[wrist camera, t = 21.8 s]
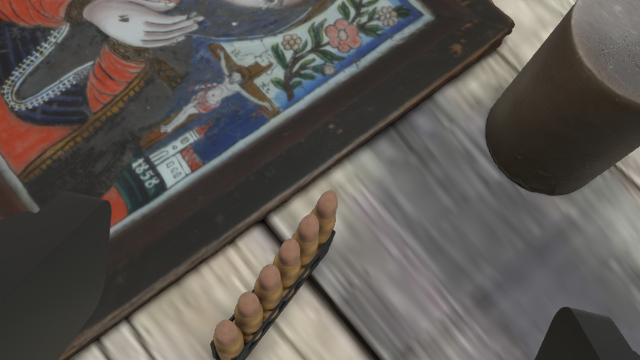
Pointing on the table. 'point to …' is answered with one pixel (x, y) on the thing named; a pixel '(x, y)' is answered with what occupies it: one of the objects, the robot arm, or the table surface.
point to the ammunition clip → (277, 283)
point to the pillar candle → (572, 101)
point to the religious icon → (207, 112)
